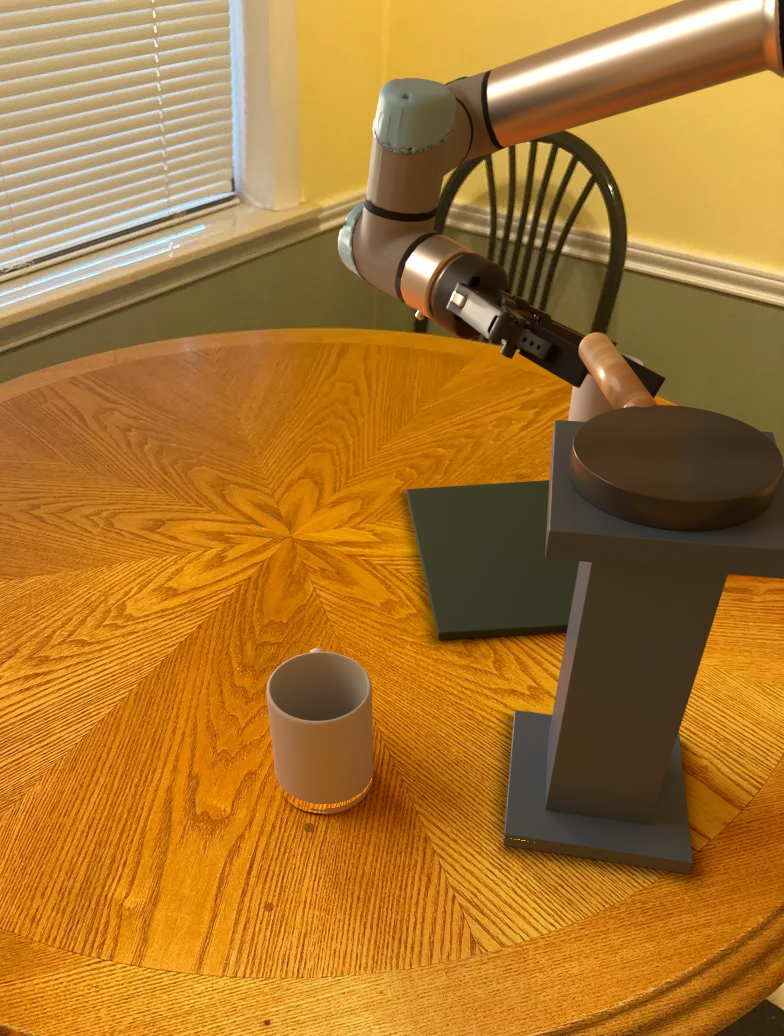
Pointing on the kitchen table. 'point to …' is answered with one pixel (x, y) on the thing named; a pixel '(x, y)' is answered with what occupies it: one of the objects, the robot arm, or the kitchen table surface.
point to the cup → (590, 399)
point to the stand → (625, 677)
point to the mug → (322, 728)
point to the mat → (490, 560)
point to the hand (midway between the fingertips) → (623, 382)
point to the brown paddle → (667, 456)
